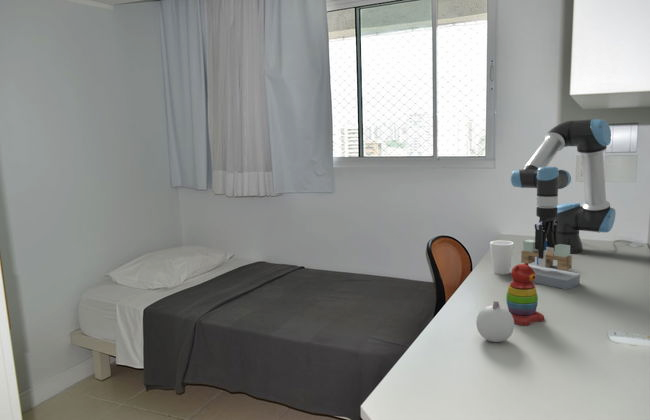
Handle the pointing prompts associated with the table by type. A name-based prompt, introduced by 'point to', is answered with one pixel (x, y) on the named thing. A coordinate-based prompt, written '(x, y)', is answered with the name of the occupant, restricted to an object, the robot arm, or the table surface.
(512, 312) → the stacking bear
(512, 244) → the foam cup
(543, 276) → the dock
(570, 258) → the tan wooden bar
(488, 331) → the ornament
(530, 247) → the block
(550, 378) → the table surface
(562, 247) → the block
